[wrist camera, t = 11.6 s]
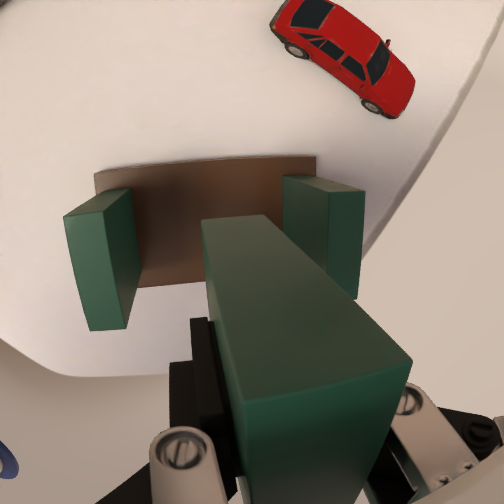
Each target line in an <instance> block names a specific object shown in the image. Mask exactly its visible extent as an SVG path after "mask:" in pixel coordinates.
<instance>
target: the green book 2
mask: <svg viewBox="0 0 504 504" xmlns="http://www.w3.org/2000/svg"><path fill="white" fill-rule="evenodd" d="M282 195H283V233H284V234H285V235H286V236H287V237H288V238H289V239H290V240H291V241H293V242H294V243H295V244H296V245H297V246H298V247H299V248H300V249H301V250H302V251H303V252H304V253H305V254H306V255H307V256H308V257H309V258H310V259H312V260H313V261H314V262H315V263H316V264H317V265H318V266H319V267H320V268H321V269H322V270H323V271H324V272H325V273H326V274H327V275H328V276H329V277H330V278H331V279H332V280H333V281H334V282H335V283H336V284H338V285H339V286H340V287H341V288H342V289H343V290H344V291H345V292H346V293H347V294H348V295H349V296H350V297H351V298H352V299H353V300H355V299H357V295H358V286H359V277H360V267H361V256H362V243H363V229H364V211H365V191H363V190H360V189H357V188H354V187H350V186H347V185H344V184H340V183H337V182H334V181H330V180H327V179H323V178H320V177H316V176H313V175H283V176H282Z"/></svg>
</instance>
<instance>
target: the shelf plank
mask: <svg viewBox="0 0 504 504" xmlns="http://www.w3.org/2000/svg"><path fill="white" fill-rule="evenodd" d="M283 175H313V176H316V157H315V156H268V157H243V158H225V159H210V160H197V161H185V162H174V163H164V164H155V165H146V166H138V167H130V168H122V169H115V170H108V171H101V172H97V173H94V181H95V190H96V195H98V194H99V193H101V192H103V191H108V190H116V189H124V188H131V193H132V202H133V211H134V219H135V227H136V234H137V241H138V248H139V255H140V261H141V267H142V273H141V276H140V280H139V283H138V287H137V288H143V287H154V286H164V285H174V284H184V283H193V282H203V281H206V279H205V269H204V258H203V247H202V235H201V223H200V221H201V220H203V219H214V218H226V217H237V216H250V215H262V214H263V215H265V216H266V217H267V218H268V219H269V220H270V221H271V222H272V223H273V224H274V225H275V226H276V227H278V228H279V229H280V230H281V231H282V232H283V195H282V176H283Z"/></svg>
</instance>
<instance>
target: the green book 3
mask: <svg viewBox="0 0 504 504" xmlns="http://www.w3.org/2000/svg"><path fill="white" fill-rule="evenodd" d="M200 223H201V235H202V247H203V258H204V269H205V279H206V289H207V298H208V308H209V317H210V321H214V326H215V332H216V337H217V342H218V347H219V352H220V357H221V362H222V367H223V372H224V377H225V382H226V386H227V391H228V396H229V400H230V405H231V411H232V417H233V424H234V433H235V441H236V448H237V456H238V463H239V471H240V477H238V481H239V485H240V490H241V494H242V498H243V502H244V504H354V503H355V501H356V499H357V497H358V495H359V493H360V492H361V490H362V488H363V486H364V484H365V482H366V480H367V478H368V476H369V474H370V472H371V470H372V468H373V465H374V463H375V461H376V459H377V457H378V455H379V452H380V450H381V448H382V446H383V443H384V441H385V439H386V436H387V434H388V431H389V429H390V426H391V424H392V421H393V419H394V416H395V414H396V411H397V408H398V406H399V403H400V400H401V397H402V394H403V392H404V389H405V386H406V383H407V380H408V377H409V373H410V370H411V367H412V364H413V360H412V359H411V357H409V356H408V355H407V353H405V351H404V350H403V349H402V348H401V347H400V346H399V345H398V344H397V343H396V342H395V341H394V340H393V339H392V338H391V337H390V336H389V335H388V334H387V333H386V332H385V331H384V330H383V329H382V328H381V327H380V326H379V325H378V324H377V323H376V322H375V321H374V320H373V319H372V318H371V317H370V316H369V315H368V314H367V313H366V312H365V311H364V310H363V309H362V308H361V307H360V306H359V305H358V304H357V303H356V302H355V301H354V300H353V299H352V298H351V297H350V296H349V295H348V294H347V293H346V292H345V291H344V290H343V289H342V288H341V287H340V286H339V285H338V284H336V283H335V282H334V281H333V280H332V279H331V278H330V277H329V276H328V275H327V274H326V273H325V272H324V271H323V270H322V269H321V268H320V267H319V266H318V265H317V264H316V263H315V262H314V261H313V260H312V259H310V258H309V257H308V256H307V255H306V254H305V253H304V252H303V251H302V250H301V249H300V248H299V247H298V246H297V245H296V244H295V243H294V242H293V241H291V240H290V239H289V238H288V237H287V236H286V235H285V234H284V233H283V232H282V231H281V230H280V229H279V228H278V227H276V226H275V225H274V224H273V223H272V222H271V221H270V220H269V219H268V218H267V217H266V216H265V215H263V214H262V215H250V216H237V217H226V218H214V219H203V220H201V221H200Z"/></svg>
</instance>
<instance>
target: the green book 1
mask: <svg viewBox="0 0 504 504" xmlns="http://www.w3.org/2000/svg"><path fill="white" fill-rule="evenodd" d="M63 220H64V226H65V232H66V237H67V242H68V248H69V252H70V257H71V262H72V266H73V271H74V275H75V279H76V283H77V287H78V291H79V295H80V299H81V303H82V306H83V310H84V313H85V317H86V320H87V323H88V327H89V330H90V331H104V330H119V329H126V327H127V324H128V320H129V316H130V312H131V308H132V305H133V301H134V297H135V294H136V290H137V287H138V283H139V280H140V276H141V273H142V267H141V261H140V255H139V248H138V241H137V234H136V227H135V219H134V211H133V202H132V193H131V188H124V189H116V190H108V191H103V192H101V193H99V194H98V195H96V196H94V197H93V198H91V199H90V200H88V201H86V202H85V203H83V204H82V205H80V206H79V207H77V208H75V209H74V210H72V211H71V212H69V213H68V214H66V215H65V216H63Z"/></svg>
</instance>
